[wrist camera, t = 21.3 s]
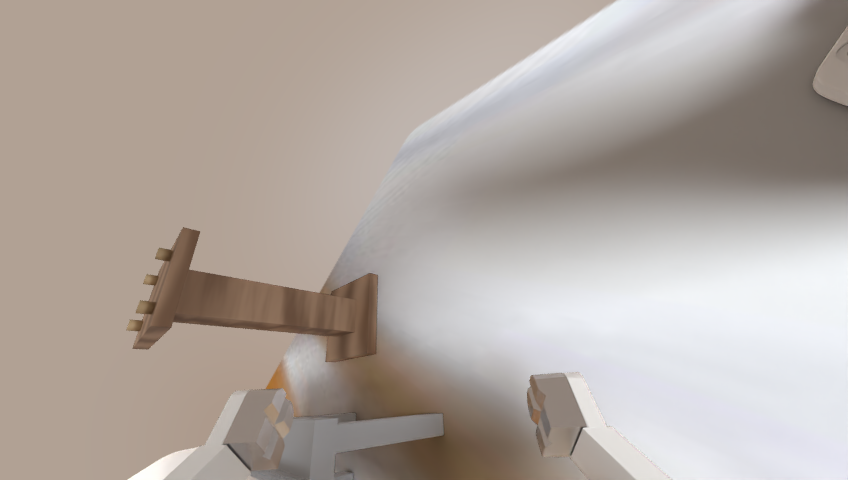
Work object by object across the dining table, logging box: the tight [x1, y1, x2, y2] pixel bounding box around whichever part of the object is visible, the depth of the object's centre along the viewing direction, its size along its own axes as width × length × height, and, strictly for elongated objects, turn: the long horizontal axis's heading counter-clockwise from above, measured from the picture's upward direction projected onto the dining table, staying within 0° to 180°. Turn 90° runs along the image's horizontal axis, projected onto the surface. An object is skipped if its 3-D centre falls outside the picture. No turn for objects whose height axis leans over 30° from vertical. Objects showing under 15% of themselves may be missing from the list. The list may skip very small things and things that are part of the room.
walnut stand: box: [127, 227, 378, 362], centre depth 43 cm, size 16×12×27 cm
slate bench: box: [278, 413, 444, 480], centre depth 34 cm, size 20×10×15 cm, turn 93°
